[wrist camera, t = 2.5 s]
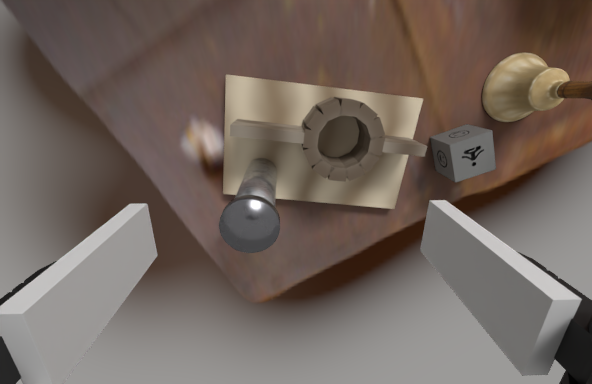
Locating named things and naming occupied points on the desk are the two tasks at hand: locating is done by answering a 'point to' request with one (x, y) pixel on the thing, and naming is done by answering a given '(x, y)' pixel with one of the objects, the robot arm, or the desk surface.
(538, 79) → the hand bell
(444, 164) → the dice cube
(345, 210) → the desk surface
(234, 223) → the pin
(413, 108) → the hinge board
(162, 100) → the desk surface
